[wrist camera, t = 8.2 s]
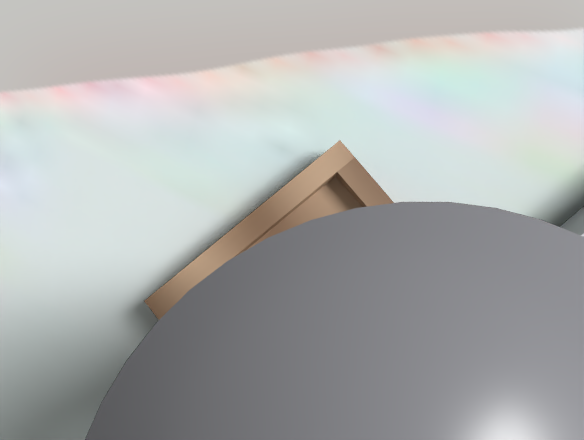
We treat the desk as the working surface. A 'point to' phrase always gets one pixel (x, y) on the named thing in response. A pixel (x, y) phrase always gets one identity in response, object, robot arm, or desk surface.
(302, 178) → the tray
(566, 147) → the desk surface
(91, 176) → the desk surface
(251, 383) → the ball
